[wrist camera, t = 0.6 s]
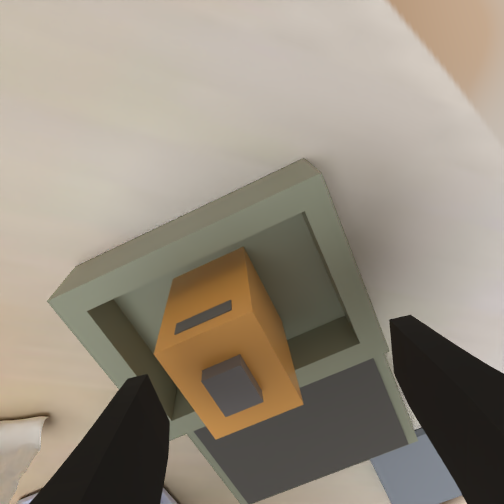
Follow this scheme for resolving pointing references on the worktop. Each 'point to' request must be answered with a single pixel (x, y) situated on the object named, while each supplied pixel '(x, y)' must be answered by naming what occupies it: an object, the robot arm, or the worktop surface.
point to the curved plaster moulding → (17, 451)
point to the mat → (415, 474)
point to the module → (227, 346)
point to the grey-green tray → (289, 310)
